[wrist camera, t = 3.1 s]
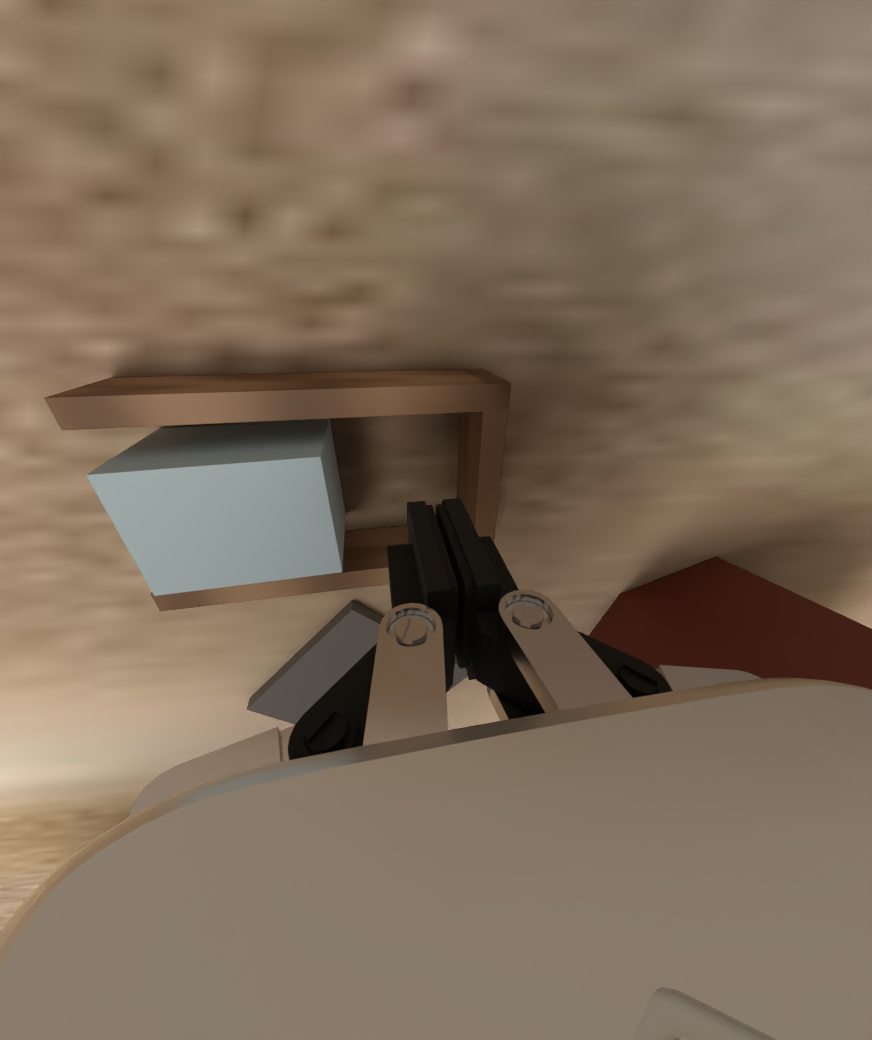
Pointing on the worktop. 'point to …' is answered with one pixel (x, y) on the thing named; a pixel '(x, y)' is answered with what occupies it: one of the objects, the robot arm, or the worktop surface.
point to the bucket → (736, 627)
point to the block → (227, 504)
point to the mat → (322, 665)
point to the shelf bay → (313, 398)
